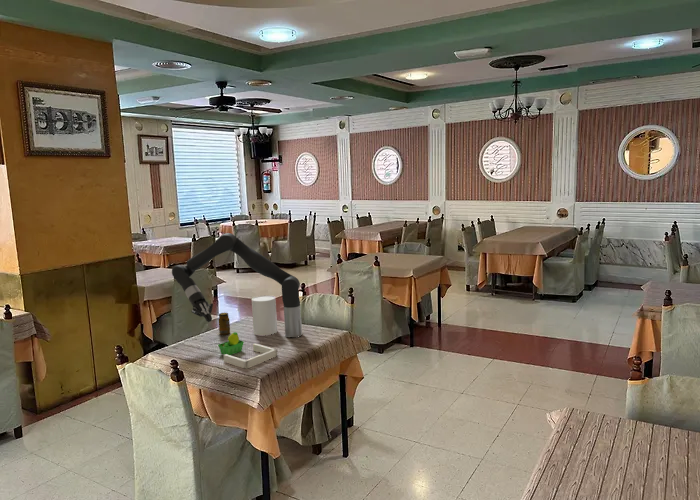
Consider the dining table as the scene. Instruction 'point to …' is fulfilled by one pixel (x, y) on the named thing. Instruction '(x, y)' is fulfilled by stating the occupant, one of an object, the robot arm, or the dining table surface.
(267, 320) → the canister
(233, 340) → the fruit basket
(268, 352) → the corral
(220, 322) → the condiment
